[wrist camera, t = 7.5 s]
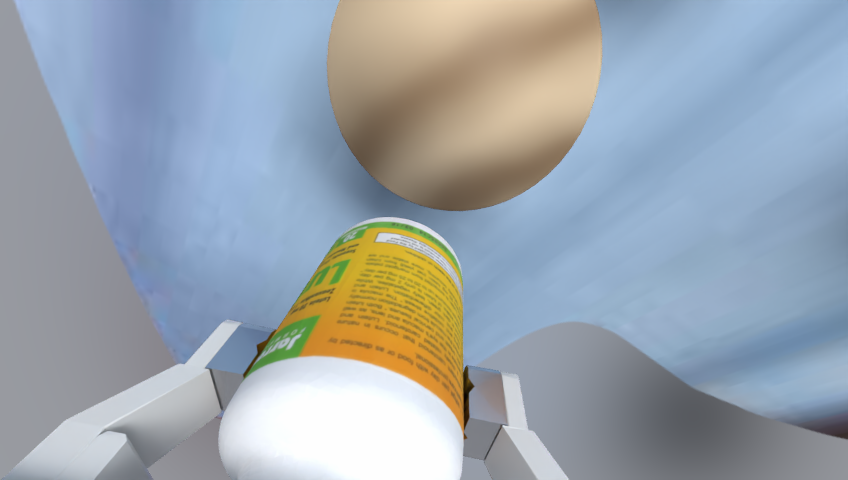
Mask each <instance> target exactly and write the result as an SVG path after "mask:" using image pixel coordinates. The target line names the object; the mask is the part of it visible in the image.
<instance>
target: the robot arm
mask: <svg viewBox="0 0 848 480" xmlns="http://www.w3.org/2000/svg"><path fill="white" fill-rule="evenodd" d="M275 332H276V330H275V329H271V328H266V327H261V326H257V325H252V324H248V323H243V322H238V321H233V320H228V319H227V320H226V321H224V322H222V323H221V324H220V325H219V326H218V327H217V328H216V330H215V331H214V332H213V333H212V334H211V335H210V336H209V337H208V338H207V340H206V341H205V342H204V343H203V344H202V345H201V346H200V347H199V349H198V350H197V351H196V352H195V353H194V354H193V355H192V356H191V358H190V359H189V360H188V361H187V362H186V363H185V364H177V365H175V366H173V367H171V368H169V369H167V370H165V371H163V372H161V373H159V374H157V375H155V376H153V377H151V378H149V379H147V380H145V381H143V382H141V383H139V384H137V385H135V386H133V387H131V388H129V389H127V390H125V391H123V392H121V393H119V394H117V395H115V396H113V397H111V398H109V399H107V400H105V401H103V402H101V403H99V404H97V405H95V406H93V407H91V408H89V409H87V410H85V411H83V412H81V413H79V414H77V415H75V416H73V417H71V418H69V419H67V420H65V421H64V422H63V423H62V424H61V425H60V426H59V427H58V428H57V429H55V430H54V431H53V432H52V433H51V434H50V435H49V436H48V437H47V438H46V439H45V440H43V441H42V442H41V443H40V444H39V445H38V446H37V447H36V448H35V449H34V450H33V451H32V452H31V453H29V454H28V455H27V456H26V457H25V458H24V459H23V460H22V461H21V462H20V463H19V464H18V465H17V466H15V467H14V468H13V469H12V470H11V471H10V472H9V473H8V474H7V475H6V476H5V477H4V478H2V480H153V478H152V476H151V475H150V473H149V472H148V470H147V468H148V467H150V466H151V465H152V464H154V463H155V462H156V461H157V460H159V459H160V458H161V457H163V456H164V455H165V454H167V453H168V452H169V451H171V450H172V449H173V448H175V447H176V446H177V445H179V444H180V443H181V442H183V441H184V440H185V439H187V438H188V437H189V436H191V435H192V434H193V433H195V432H196V431H197V430H199V429H200V428H201V427H202V426H204V425H205V424H207V423H208V422H209V421H211V420H212V419H213V418H215V417H216V416H217V415H218V414H220V413H221V412H222V411H221V410H224V411H225V410H226V408H227V406H228V404H229V402H230V401H231V399H232V398H233V396H234V394H235V393H236V391H237V389H238V388H239V386H240V384H241V383H242V381H243V380H244V378H245V377H246V375H247V374H248V372H249V371H250V369H251V368H252V366H253V365H254V363H255V362H256V360H257V359H258V357H259V356H260V354H261V353H262V351H263V350H264V348H265V347H266V345H267V344H268V342H269V341H270V339H271V338H272V336H273V335H274V333H275ZM463 397H464V446H463V456H467V457H471V458H475V459H480V460H484V463H485V465H486V467H487V469H488V471H489V473H490V476H491V478H492V479H493V480H569V479H568V478H567V476H566V475H565V473H564V472H563V471H562V469H561V468H560V467H559V465H558V464H557V463H556V461H555V460H554V458H553V457H552V456H551V454H550V453H549V452H548V450H547V449H546V448H545V446H544V445H543V443H542V442H541V441H540V440H539V438H538V437H537V435H536V434H535V433H534V431H531V430H528V426H527V420H526V415H525V410H524V404H523V399H522V393H521V387H520V382H519V378H518V376H517V375H516V374H511V373H506V372H499V371H498V370H492V369H486V368H480V367H475V366H469V365H467V366H466V367H465V369H464V372H463Z"/></svg>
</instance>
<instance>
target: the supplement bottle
mask: <svg viewBox="0 0 848 480" xmlns="http://www.w3.org/2000/svg"><path fill="white" fill-rule="evenodd" d="M218 442H219V452H220V457H221V460H222V462H223V465H224V468H225V470H226V472H227V473H228V475H229V477H230V478H231V479H232V480H460V478H461V474H462V465H463V446H464V397H463V280H462V271H461V266H460V263H459V260H458V258H457V256H456V254H455V252H454V251H453V249H452V248H451V246H450V245H449V244H448V243H447V242H446V241H445V240H444V239H443V238H442V237H441V236H440V235H439V234H437V233H436V232H434V231H433V230H431V229H430V228H428V227H426V226H424V225H422V224H420V223H417V222H414V221H411V220H408V219H403V218H395V217H379V218H373V219H369V220H365V221H362V222H360V223H358V224H356V225H354V226H352V227H351V228H349V229H348V230H347V231H345V232H344V233H343V234H342V235H341V236H340V237H339V238H338V239H337V241H336V242H335V243H334V245H333V246H332V247H331V249H330V250H329V252H328V253H327V255H326V256H325V258H324V259H323V261H322V262H321V264H320V265H319V267H318V268H317V270H316V272H315V273H314V275H313V276H312V278H311V279H310V281H309V282H308V284H307V285H306V287H305V288H304V290H303V291H302V293H301V294H300V296H299V297H298V299H297V300H296V302H295V303H294V305H293V306H292V308H291V309H290V311H289V312H288V314H287V315H286V317H285V318H284V320H283V321H282V323H281V324H280V326H279V327H278V329H277V330H276V332H275V333H274V335H273V336H272V338H271V339H270V341H269V342H268V344H267V345H266V347H265V348H264V350H263V351H262V353H261V354H260V356H259V357H258V359H257V360H256V362H255V363H254V365H253V366H252V368H251V369H250V371H249V372H248V374H247V375H246V377H245V378H244V380H243V381H242V383H241V384H240V386H239V388H238V389H237V391H236V393H235V394H234V396H233V398H232V399H231V401H230V402H229V404H228V406H227V408H226V410H225V412H224V415H223V418H222V420H221V424H220V429H219V436H218Z"/></svg>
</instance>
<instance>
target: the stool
mask: <svg viewBox="0 0 848 480" xmlns="http://www.w3.org/2000/svg"><path fill="white" fill-rule="evenodd" d="M601 63H602V33H601V26H600V19H599V13H598V9H597V6H596V3H595V0H340V1H339V4H338V7H337V10H336V13H335V16H334V19H333V22H332V27H331V33H330V38H329V43H328V56H327V75H328V87H329V93H330V100H331V104H332V108H333V111H334V115H335V118H336V121H337V123H338V126H339V128H340V131H341V133H342V136H343V137H344V139H345V141H346V143H347V145H348V147H349V148H350V150H351V151H352V153H353V154H354V156H355V157H356V159H357V160H358V161H359V163H360V164H361V165H362V166H363V167H364V168H365V170H366V171H367V172H368V173H369V174H370V175H371V176H372V177H373V178H374V179H376V180H377V181H378V182H379V183H380V184H381V185H383V186H384V187H386V188H387V189H388V190H390V191H391V192H393V193H394V194H396V195H398V196H400V197H402V198H404V199H406V200H408V201H410V202H413V203H416V204H418V205H421V206H425V207H429V208H433V209H440V210H447V211H466V210H475V209H481V208H485V207H490V206H493V205H496V204H499V203H502V202H505V201H507V200H509V199H511V198H513V197H516V196H518V195H520V194H521V193H523V192H525V191H526V190H528V189H529V188H531V187H532V186H534V185H535V184H537V183H538V182H539V181H540V180H542V179H543V178H544V177H545V176H547V175H548V174H549V173H550V172H551V171H552V170H553V169H554V168H555V167H556V166H557V165H558V164H559V163H560V161H561V160H562V159H563V158H564V156H565V155H566V154H567V153H568V151H569V150H570V149H571V147H572V146H573V144H574V143H575V141H576V139H577V138H578V136H579V135H580V133H581V131H582V129H583V127H584V125H585V123H586V121H587V119H588V117H589V114H590V111H591V108H592V106H593V103H594V100H595V97H596V93H597V88H598V84H599V79H600V73H601Z"/></svg>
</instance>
